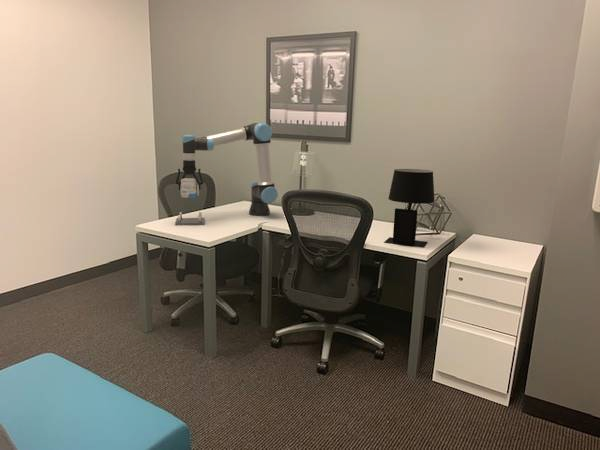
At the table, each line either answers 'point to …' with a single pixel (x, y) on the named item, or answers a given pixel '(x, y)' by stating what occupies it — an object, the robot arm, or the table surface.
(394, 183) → the table lamp
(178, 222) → the chassis
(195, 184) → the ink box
